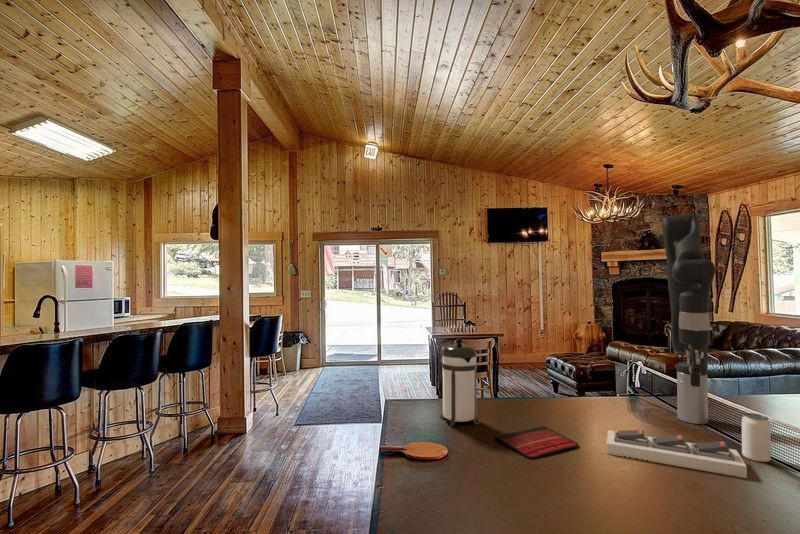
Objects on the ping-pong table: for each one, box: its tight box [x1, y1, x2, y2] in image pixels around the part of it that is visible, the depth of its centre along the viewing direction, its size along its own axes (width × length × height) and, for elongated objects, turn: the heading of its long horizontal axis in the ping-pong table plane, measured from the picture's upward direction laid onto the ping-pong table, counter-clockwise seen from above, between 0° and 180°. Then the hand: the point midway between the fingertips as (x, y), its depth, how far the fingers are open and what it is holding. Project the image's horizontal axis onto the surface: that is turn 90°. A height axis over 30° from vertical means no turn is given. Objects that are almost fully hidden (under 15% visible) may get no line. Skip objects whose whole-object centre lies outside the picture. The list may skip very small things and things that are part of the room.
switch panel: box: [606, 429, 748, 479], centre depth 125 cm, size 12×33×4 cm, turn 62°
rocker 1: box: [617, 429, 646, 439], centre depth 130 cm, size 4×7×1 cm, turn 62°
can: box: [741, 412, 772, 463], centre depth 125 cm, size 6×6×12 cm
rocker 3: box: [695, 440, 730, 453], centre depth 121 cm, size 4×7×1 cm, turn 62°
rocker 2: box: [655, 434, 686, 446], centre depth 125 cm, size 4×7×1 cm, turn 62°
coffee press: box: [439, 337, 481, 428], centre depth 157 cm, size 17×16×30 cm
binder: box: [494, 425, 579, 460], centre depth 135 cm, size 16×2×21 cm
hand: (695, 385), depth 127 cm, fingers closed
